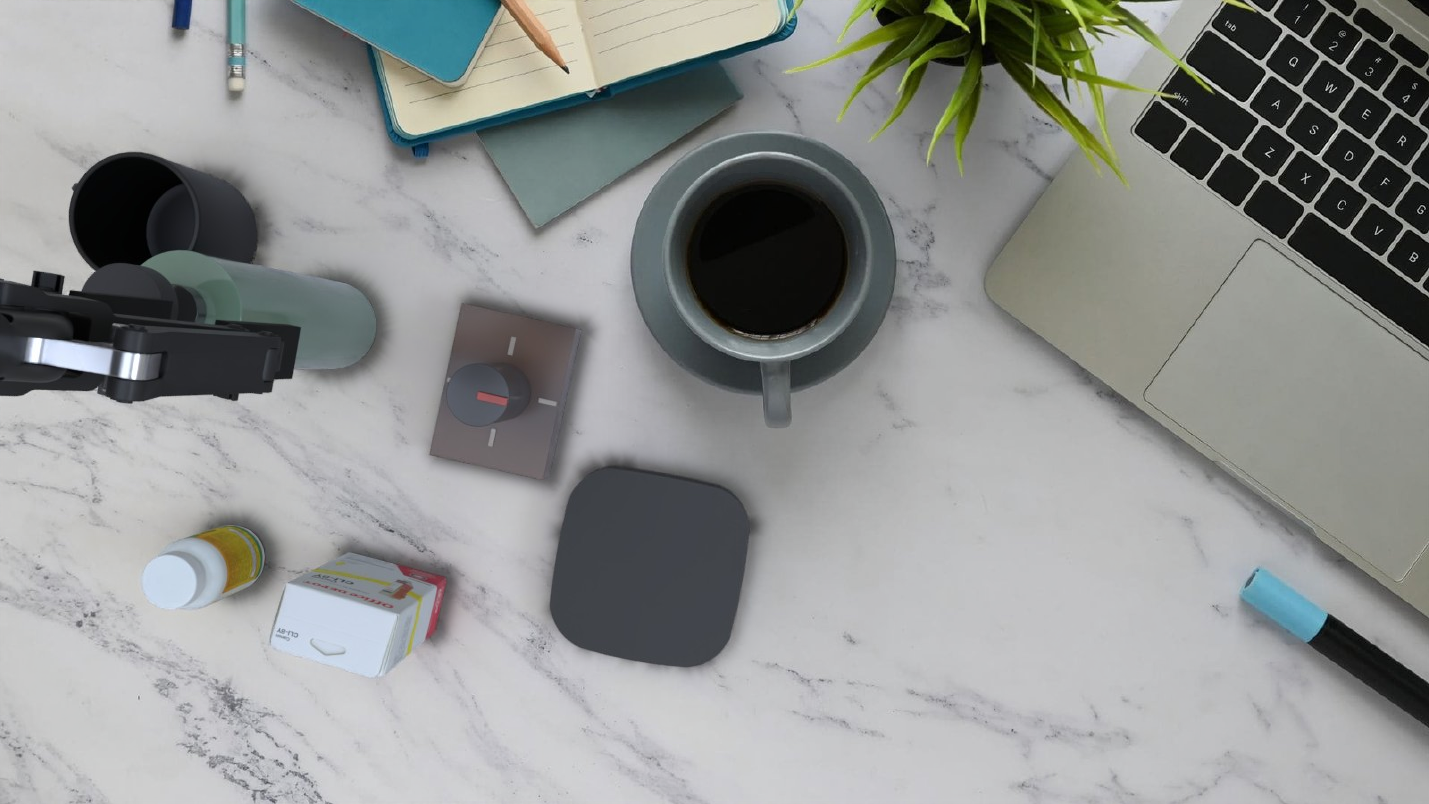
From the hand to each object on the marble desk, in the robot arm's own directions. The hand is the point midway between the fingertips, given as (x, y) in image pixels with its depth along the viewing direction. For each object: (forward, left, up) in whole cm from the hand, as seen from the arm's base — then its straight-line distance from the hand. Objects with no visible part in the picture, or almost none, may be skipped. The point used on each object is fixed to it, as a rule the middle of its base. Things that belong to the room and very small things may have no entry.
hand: (225, 338), depth 51 cm
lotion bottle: (0, -6, -28) cm, 29 cm away
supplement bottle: (+20, -10, -28) cm, 36 cm away
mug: (-5, -19, -28) cm, 35 cm away
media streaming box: (+13, +23, -28) cm, 39 cm away
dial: (+2, +9, -25) cm, 27 cm away
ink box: (+20, +3, -28) cm, 35 cm away
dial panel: (+2, +9, -28) cm, 30 cm away
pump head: (+1, -6, -3) cm, 7 cm away
